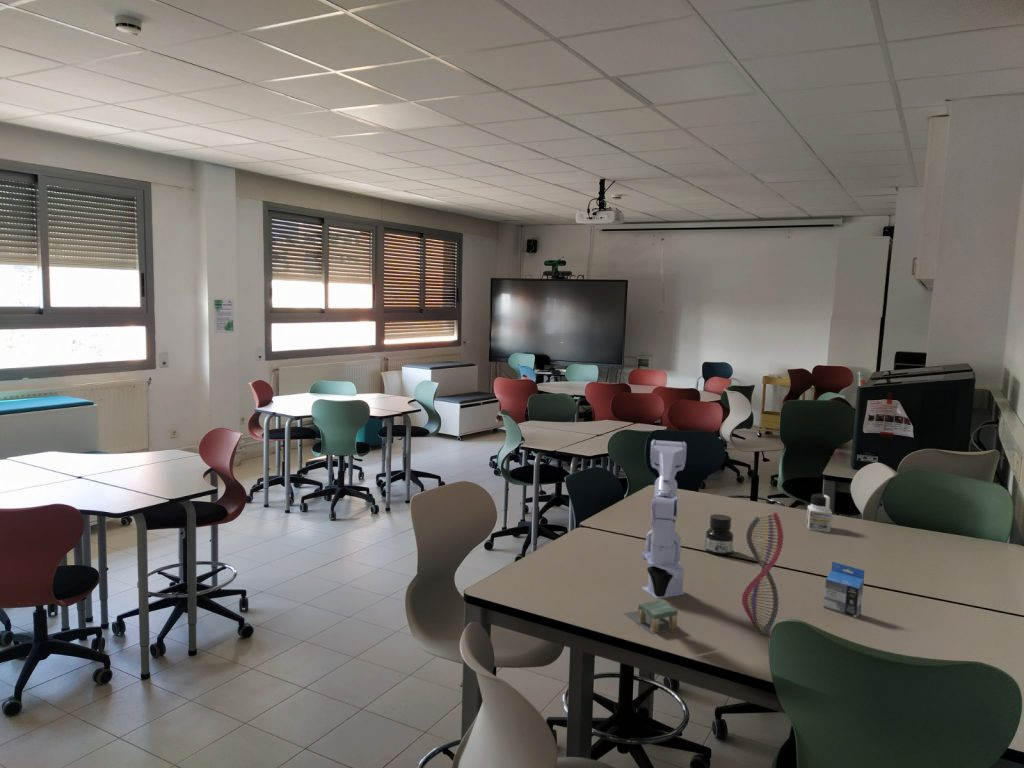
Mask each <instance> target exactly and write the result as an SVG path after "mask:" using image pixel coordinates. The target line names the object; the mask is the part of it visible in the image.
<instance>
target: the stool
mask: <svg viewBox="0 0 1024 768" xmlns="http://www.w3.org/2000/svg"><path fill="white" fill-rule="evenodd" d="M637 606H638V609H637V611H638V622H640V623H645V619H646V614H647V615H649V616H650V617H651V629H650V630H651V631H652V632H658V629H659V620H661V619H663V618H666V619H667V618H668V620H669V627H670V628H671V629H675V628H677V626H678V624H677V622H678V610H677V609H676V608H674V607H672V606H671V605H669V604H668V603H666V602H665V601H663V600H661V599H658V600H653V601H649V602H642V603H638V605H637Z"/></svg>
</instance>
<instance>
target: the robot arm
mask: <svg viewBox="0 0 1024 768" xmlns="http://www.w3.org/2000/svg"><path fill="white" fill-rule="evenodd" d="M687 446H688V445H687V443H686V442H685V441H672V440H659V439H658V440H657V439H652V440H651V442H650V456H649V458H650V459H649V460H650V465H651V468H653V469H655V470H656V471H657V472H658V474H659V477H657V478H656V480H655V482H654V491H653V493H654V494H653V498H651V507H650V519H651V529H650V530H649V531H648V532H647V533H646V539H645V551H641V560H642V561H646V564H647V565H648V567H646V569H647V572H648V584H647V586H642V587H641V590H643V591H644V592H646V593H647V594H649V595H651V596H652V597H654V598H655V599H658V600H661V599H665V598H671V597H676V596H677V597H678V596H681V595H685V592H684V567H683V565H682V563H681V551H682V549H681V548H682V540H681V535H680V534H679V533H678V532H677V531H676V521H677V520H678V515H679V514H678V513H679V501H678V482H677V480H676V479H675V477H676V475H677V472H680V471H683V470H684V468H685V467H686V466H685V465H686V461H687ZM647 565H646V566H647Z"/></svg>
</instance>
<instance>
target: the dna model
mask: <svg viewBox="0 0 1024 768" xmlns="http://www.w3.org/2000/svg"><path fill="white" fill-rule="evenodd" d="M772 517H773V518H772ZM766 518H767V519H766ZM781 522H782V521H781V520H780V516H778V513H777V512H775V511H773V512H772V514H767V516H765V517H759V516H755V517H754V519H752V521H751V522H750V524H749V525H748V527H747V531H746V535H745V536H746V543H747V545H748V548H749V551H750V552H751V554H752V556H753V558H755V560H756V561H757V563H758V565H759V567H761V570H760V573H759V574H757V576H756V577H755V578H754V579H753V580H752V581H750V583H748V585H747V586H746V587H745V589H744V591H743V592H742V595H741V596H742V597H741V603H742V607H743V610H744V611H745V613H746V615H747V616H748V618H749V619H750V621H751V622H752V623H754V624H755V625H756V626H758V627H759V629H760V630H761V634H762V636H766V635H768V632H770V630H771V629H772V626H773V625H774V623H775V619H776V618H777V615H778V611H779V603H780V602H779V594H778V590H777V589H778V588H777V586H776V583H775V581H774V579H773V576H772V574H771V572H770V571H771V569H772V568H774V567H773V566H775V564H776V562H777V561H778V559H779V556H780V554H781V552H782V548H783V544H784V543H783V541H784V531H783V528H782V523H781ZM774 530H777V531H774ZM776 537H777V538H776ZM759 540H760V541H759ZM775 540H776V541H775ZM762 541H763V542H762ZM773 543H774V544H773ZM763 544H764V545H763ZM764 550H765V551H764ZM774 550H775V551H774ZM772 553H773V554H772ZM764 577H765V578H764ZM765 580H767V581H765ZM767 583H768V584H767ZM767 586H770V587H767ZM769 589H771V590H769ZM759 590H760V591H759ZM761 590H762V591H761ZM768 593H772V594H768ZM767 596H772V597H767ZM764 599H766V600H764ZM764 602H766V603H764ZM770 603H773V604H770ZM765 605H766V606H765ZM769 606H770V607H769ZM771 606H772V607H771ZM767 609H768V610H767ZM771 610H772V611H771ZM763 611H764V612H763ZM766 612H767V613H766ZM760 613H761V614H760ZM769 613H770V614H769ZM763 614H764V615H763ZM768 616H769V617H768ZM766 619H767V620H766ZM764 621H765V622H764ZM763 624H764V625H765V626H764V625H763Z"/></svg>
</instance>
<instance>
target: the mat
mask: <svg viewBox="0 0 1024 768" xmlns="http://www.w3.org/2000/svg"><path fill="white" fill-rule="evenodd" d="M623 615H624V616H625V617H627V618H628V619H630V620H631V621H633V622H634V623H636V624H637V625H638V626H640V627H641V628H643V629H644V630H645V631H647V633H649V634H651V635H655V634H656V635H657V634H660V633H666V632H671V631H676V630H681V629H682V628H681V627H679V626H678V625H677V628H675V629H671V628H670V627H669V618H667V617H666V618H663V619H661V620H659V629H658V632H652V631H651V630H650V629H651V617H650V616H649V615H647V614H646V619H645V623H640V622H638V610H635V611H630V612H624V613H623Z"/></svg>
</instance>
